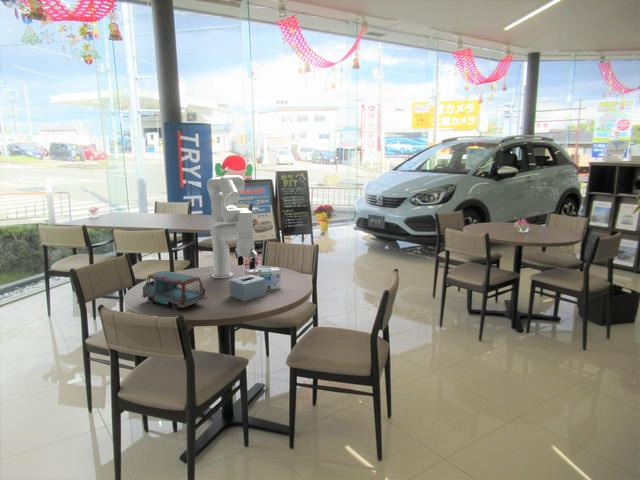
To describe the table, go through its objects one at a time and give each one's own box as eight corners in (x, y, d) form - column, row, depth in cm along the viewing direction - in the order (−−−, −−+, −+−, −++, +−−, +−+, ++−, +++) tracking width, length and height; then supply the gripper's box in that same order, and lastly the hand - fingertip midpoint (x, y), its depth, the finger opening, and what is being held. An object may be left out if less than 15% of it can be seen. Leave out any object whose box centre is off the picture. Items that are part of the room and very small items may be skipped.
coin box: (230, 296, 238) (229, 279, 236) (251, 290, 248) (250, 274, 246) (244, 301, 230) (243, 284, 228) (265, 294, 240) (265, 278, 238)
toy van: (165, 294, 243) (163, 267, 240) (208, 304, 226) (206, 275, 223) (140, 302, 230) (137, 273, 227) (183, 314, 213) (181, 283, 210)
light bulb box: (262, 290, 248) (261, 271, 245) (259, 287, 254) (258, 268, 252) (281, 288, 251) (280, 269, 249) (277, 285, 258) (277, 266, 255)
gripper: (229, 233, 236) (230, 264, 240) (250, 238, 224) (251, 271, 228) (241, 231, 241) (242, 262, 245) (262, 236, 230) (262, 268, 234)
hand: (246, 266), depth 237 cm, fingers open, 9 cm apart
